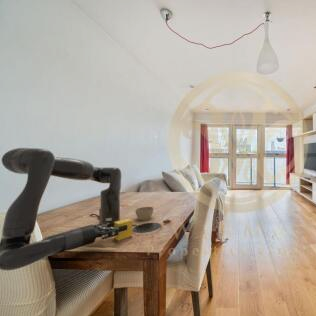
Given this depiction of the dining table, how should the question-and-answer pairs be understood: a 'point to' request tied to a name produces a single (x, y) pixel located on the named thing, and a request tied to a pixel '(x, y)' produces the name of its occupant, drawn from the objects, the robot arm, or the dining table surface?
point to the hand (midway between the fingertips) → (123, 225)
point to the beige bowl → (144, 213)
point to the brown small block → (167, 221)
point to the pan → (146, 227)
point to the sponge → (127, 232)
